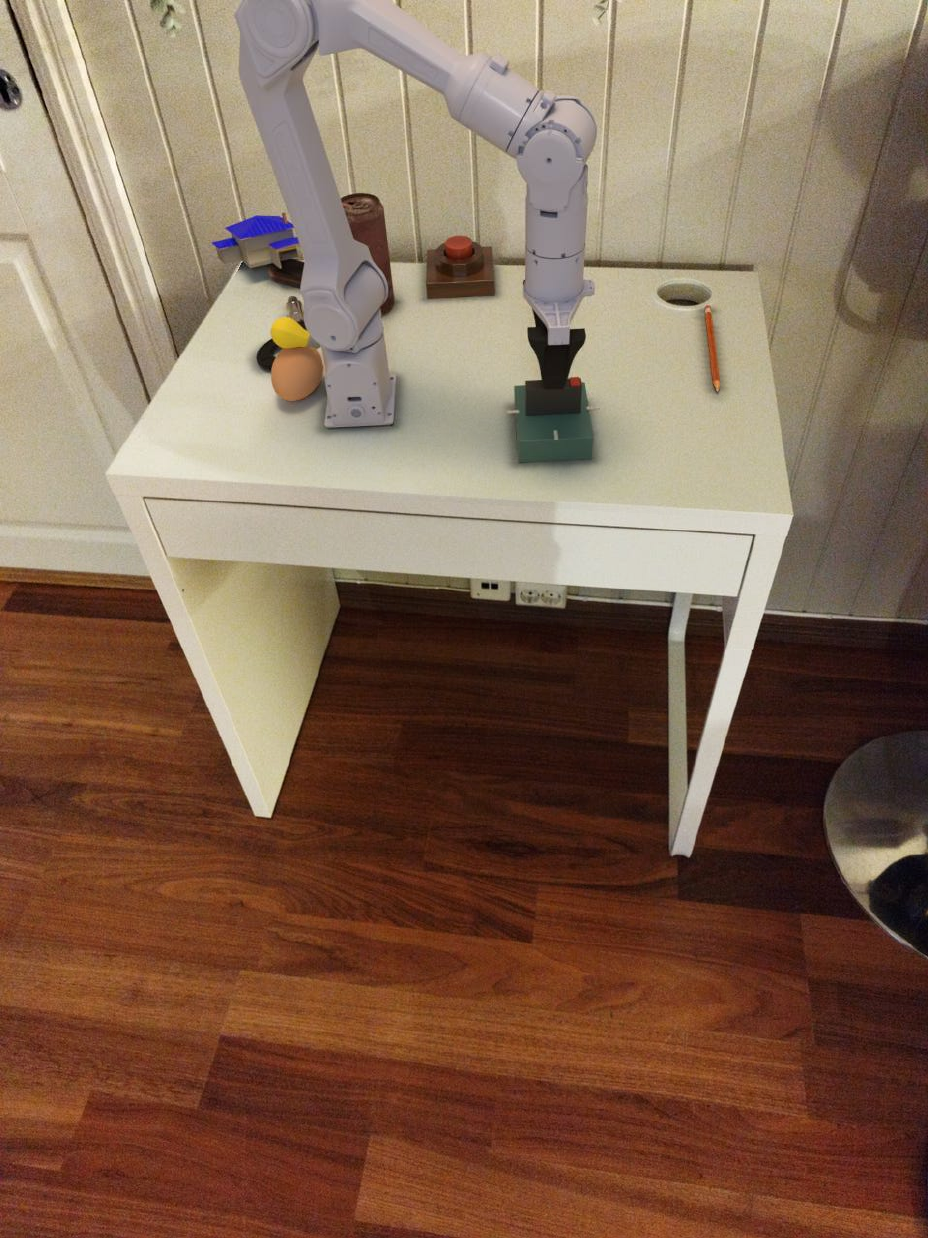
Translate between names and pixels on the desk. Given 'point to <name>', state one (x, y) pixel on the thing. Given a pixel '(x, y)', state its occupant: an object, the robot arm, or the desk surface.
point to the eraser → (288, 272)
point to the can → (371, 234)
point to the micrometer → (270, 346)
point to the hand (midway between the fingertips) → (551, 365)
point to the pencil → (712, 347)
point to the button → (458, 247)
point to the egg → (296, 372)
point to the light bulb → (291, 334)
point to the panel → (553, 432)
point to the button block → (460, 273)
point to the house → (259, 241)
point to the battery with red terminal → (553, 398)
